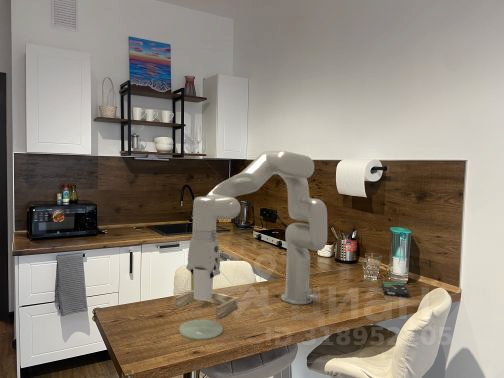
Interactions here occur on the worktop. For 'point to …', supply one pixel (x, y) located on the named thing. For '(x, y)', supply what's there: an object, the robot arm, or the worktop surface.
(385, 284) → the disk drive
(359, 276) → the worktop surface
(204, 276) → the white coffee cup
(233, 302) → the frame
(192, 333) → the disc
